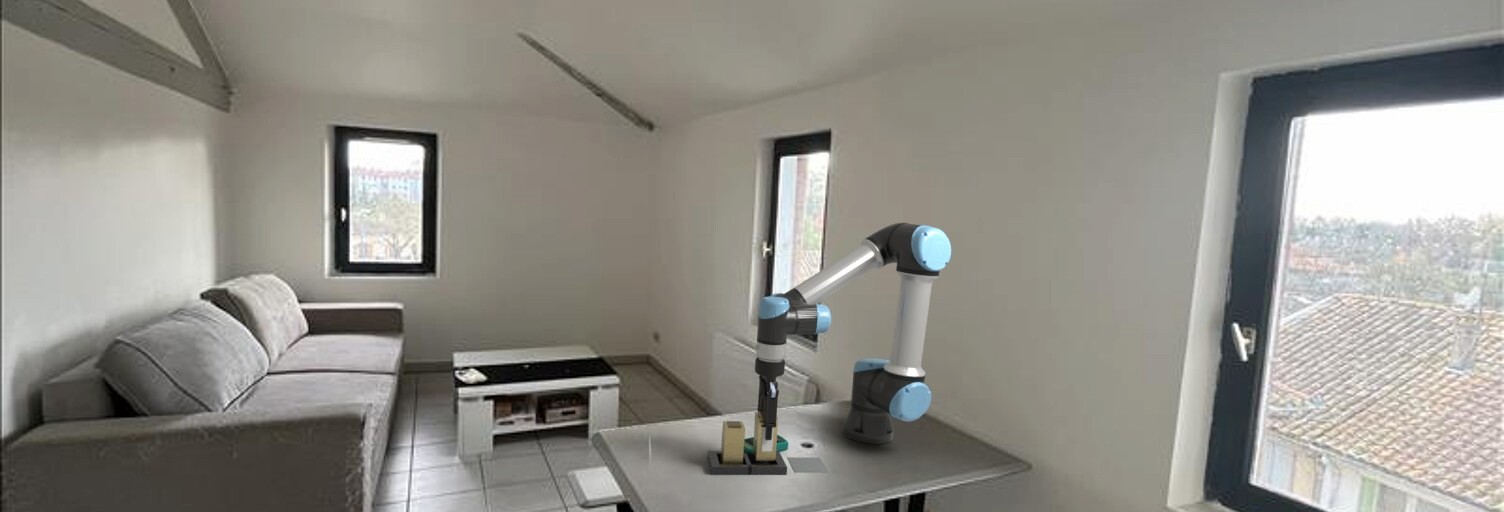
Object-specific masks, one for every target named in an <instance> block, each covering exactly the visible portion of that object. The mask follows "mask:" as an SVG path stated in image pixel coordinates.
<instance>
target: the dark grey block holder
mask: <svg viewBox="0 0 1504 512" xmlns="http://www.w3.org/2000/svg"><path fill="white" fill-rule="evenodd" d="M780 452H781V451H776V459H775V460H770V461H756V459H755V457H754V454H753V452H746V451H744V452H743V465H721V464H720V457H721V450H707V462H708V466H709V470H710V475H711V476H787V475H788V474H787V473H788V466H787V464H786V462H785V460H784V458H783V456H782V454H781V453H780Z"/></svg>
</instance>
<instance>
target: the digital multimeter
mask: <svg viewBox="0 0 1504 512" xmlns="http://www.w3.org/2000/svg"><path fill="white" fill-rule="evenodd" d="M753 442H754V436H752V437H747V438H746V437H745V439H744V451H746V452H753ZM788 449H789V441H787V440H786V439H785V438H784V437H782V436H781V435H779V434H777V444H776V451H779V452H783V451H787V450H788Z"/></svg>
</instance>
